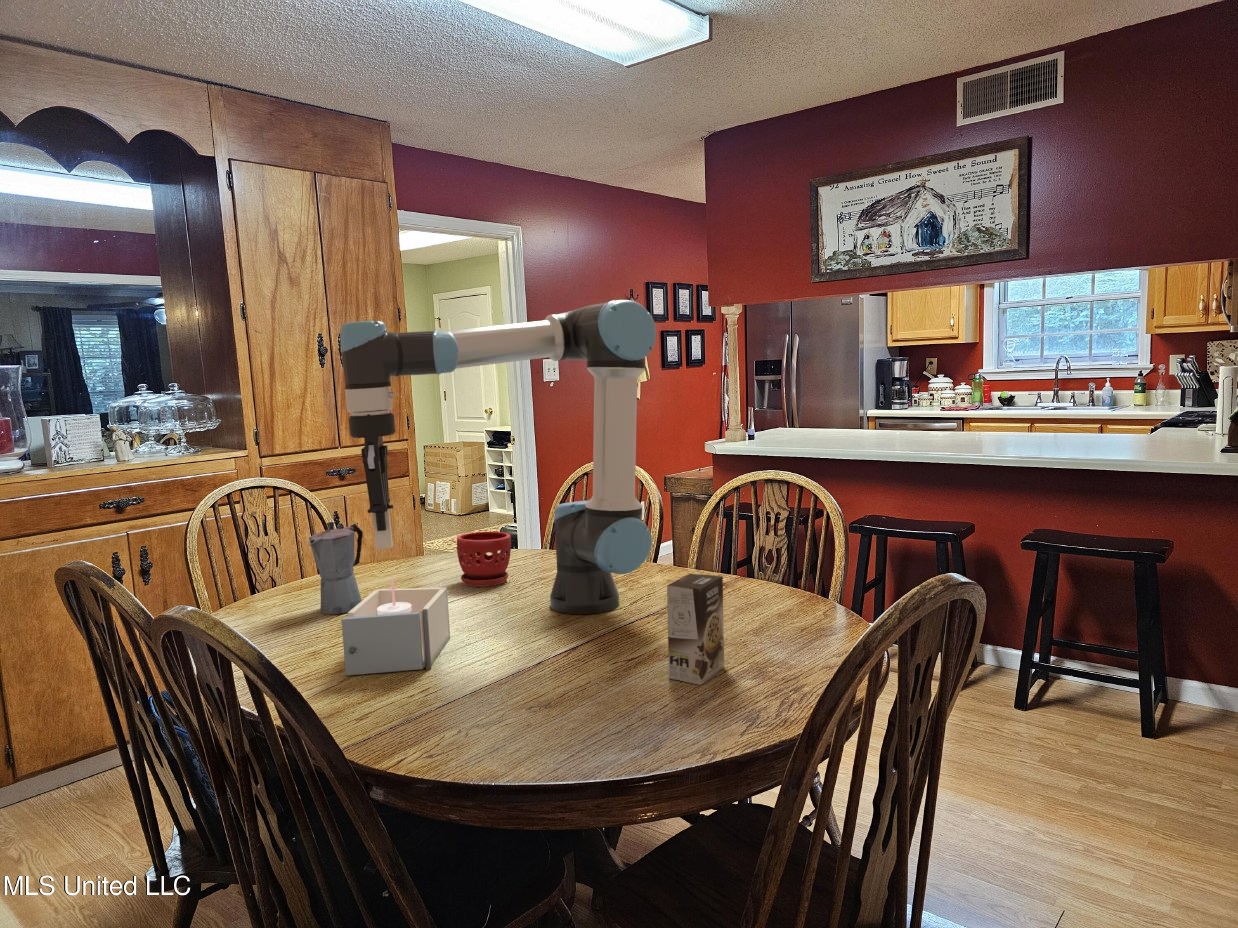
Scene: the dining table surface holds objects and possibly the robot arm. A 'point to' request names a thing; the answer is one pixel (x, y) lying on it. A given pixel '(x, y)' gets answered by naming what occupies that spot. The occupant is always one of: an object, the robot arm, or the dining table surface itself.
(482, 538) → the plant pot
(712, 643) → the coffee box
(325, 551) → the moka pot
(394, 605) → the beverage cup
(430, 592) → the cubby
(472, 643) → the dining table surface
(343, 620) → the door
